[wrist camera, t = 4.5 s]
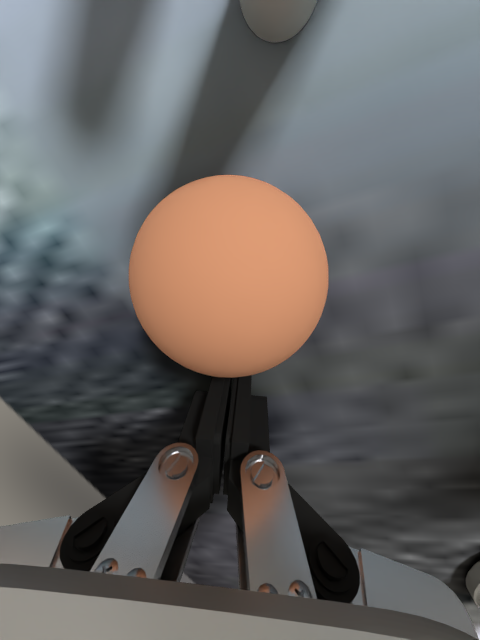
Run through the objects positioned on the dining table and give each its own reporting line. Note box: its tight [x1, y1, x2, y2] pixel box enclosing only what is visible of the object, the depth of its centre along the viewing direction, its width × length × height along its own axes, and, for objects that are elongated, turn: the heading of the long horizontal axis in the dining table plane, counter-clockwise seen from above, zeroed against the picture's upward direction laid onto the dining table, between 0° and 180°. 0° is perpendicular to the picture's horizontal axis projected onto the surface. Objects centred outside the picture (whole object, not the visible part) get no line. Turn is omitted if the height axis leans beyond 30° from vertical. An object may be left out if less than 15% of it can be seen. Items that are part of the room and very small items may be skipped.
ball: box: [129, 175, 328, 378], centre depth 8 cm, size 6×6×6 cm
